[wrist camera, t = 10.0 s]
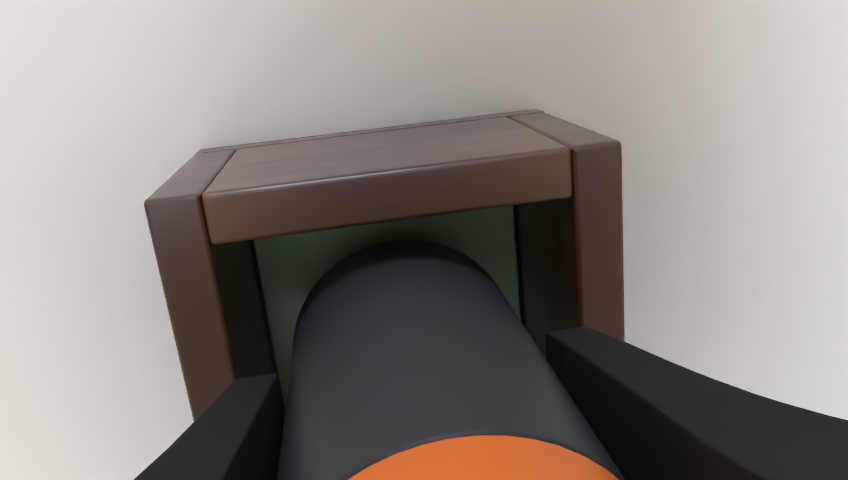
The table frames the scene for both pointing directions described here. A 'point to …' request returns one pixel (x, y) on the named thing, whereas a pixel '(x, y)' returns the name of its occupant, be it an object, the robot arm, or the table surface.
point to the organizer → (384, 229)
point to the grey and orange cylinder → (425, 379)
